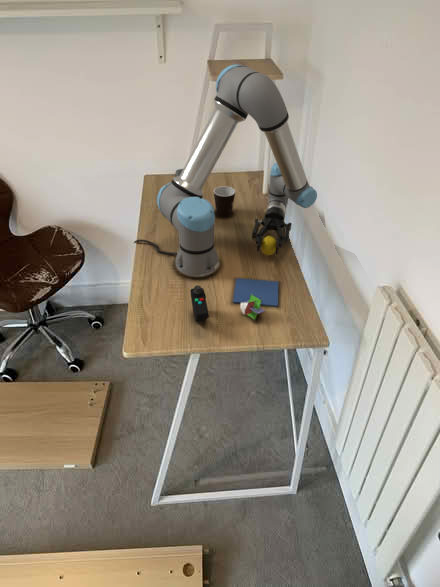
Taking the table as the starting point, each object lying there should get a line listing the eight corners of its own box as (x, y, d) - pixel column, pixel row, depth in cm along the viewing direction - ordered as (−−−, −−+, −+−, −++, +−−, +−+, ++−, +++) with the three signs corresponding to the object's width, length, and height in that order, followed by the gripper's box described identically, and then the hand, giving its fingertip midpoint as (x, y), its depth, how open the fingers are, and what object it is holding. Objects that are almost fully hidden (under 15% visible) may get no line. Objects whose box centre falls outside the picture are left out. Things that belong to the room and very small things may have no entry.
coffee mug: (226, 221, 174) (226, 198, 167) (209, 214, 178) (209, 192, 171) (242, 209, 181) (244, 187, 174) (226, 203, 185) (226, 181, 178)
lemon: (259, 251, 156) (260, 232, 151) (274, 250, 157) (276, 231, 151) (261, 260, 152) (262, 241, 147) (277, 259, 152) (279, 240, 147)
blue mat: (232, 303, 136) (232, 301, 136) (236, 279, 145) (236, 278, 145) (277, 306, 135) (277, 305, 134) (278, 282, 144) (278, 281, 144)
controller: (204, 306, 135) (203, 280, 128) (210, 334, 126) (210, 308, 119) (190, 307, 134) (189, 282, 128) (195, 335, 125) (194, 310, 119)
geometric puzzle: (255, 296, 135) (246, 287, 129) (272, 306, 132) (264, 297, 125) (242, 315, 135) (232, 307, 128) (259, 326, 131) (250, 318, 125)
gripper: (298, 226, 165) (293, 262, 148) (250, 221, 168) (239, 255, 150) (300, 209, 160) (296, 243, 143) (251, 203, 163) (240, 237, 146)
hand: (267, 249), depth 147 cm, fingers closed on lemon, 5 cm apart
